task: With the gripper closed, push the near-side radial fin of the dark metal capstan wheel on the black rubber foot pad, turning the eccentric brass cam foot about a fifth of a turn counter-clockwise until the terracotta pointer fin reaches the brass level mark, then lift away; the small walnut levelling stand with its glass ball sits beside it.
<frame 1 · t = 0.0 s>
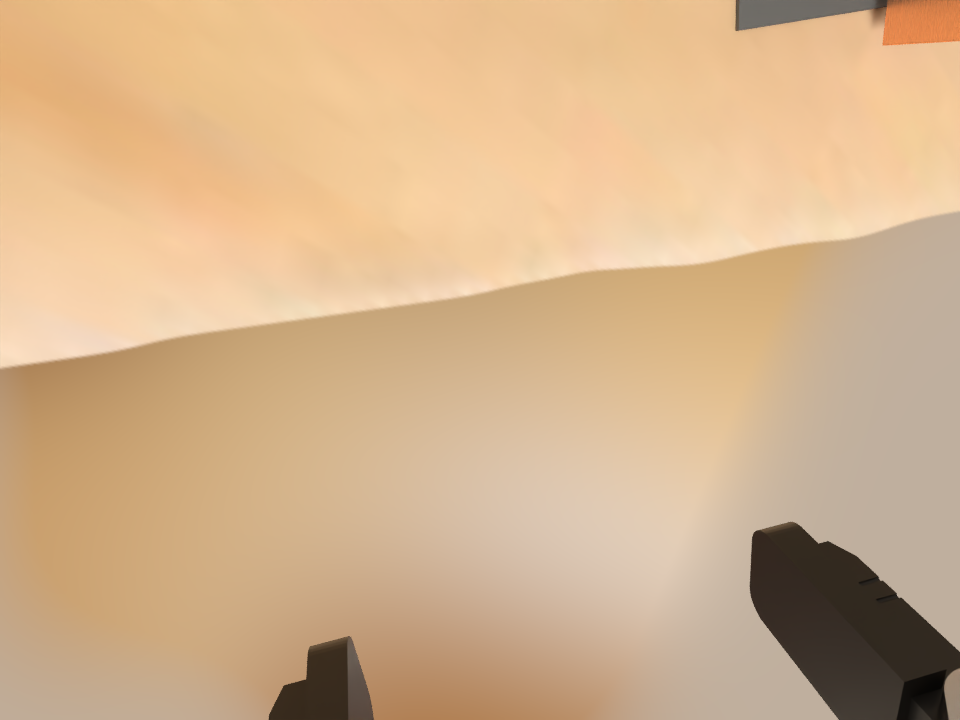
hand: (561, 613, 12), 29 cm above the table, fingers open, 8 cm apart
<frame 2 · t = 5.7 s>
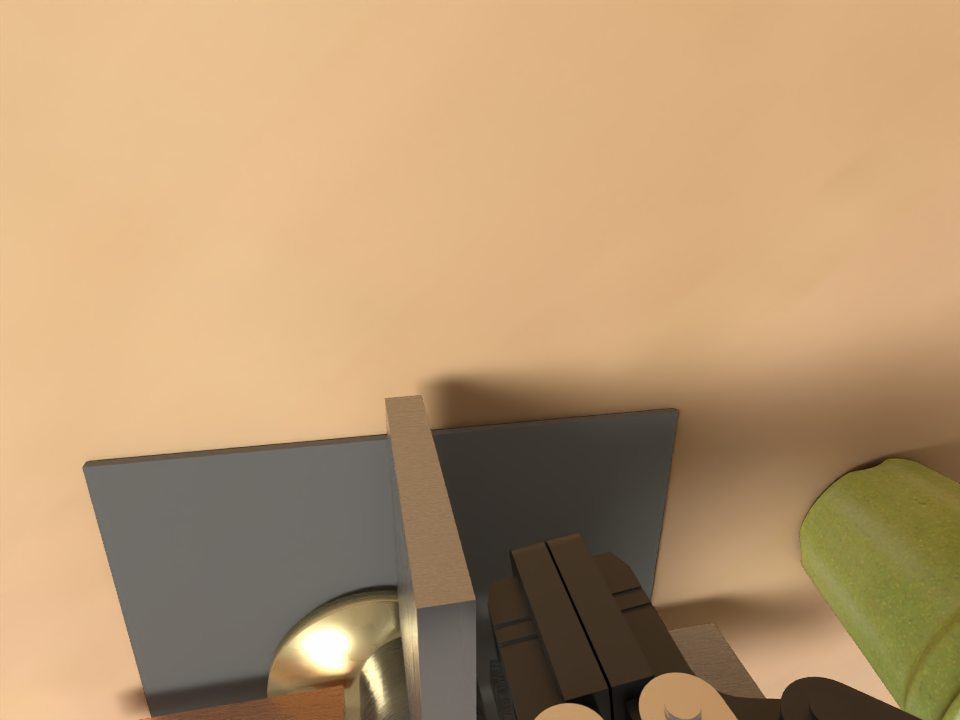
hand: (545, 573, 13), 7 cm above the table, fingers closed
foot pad: (413, 648, 23), on the table
plant pot: (859, 519, 26), on the table
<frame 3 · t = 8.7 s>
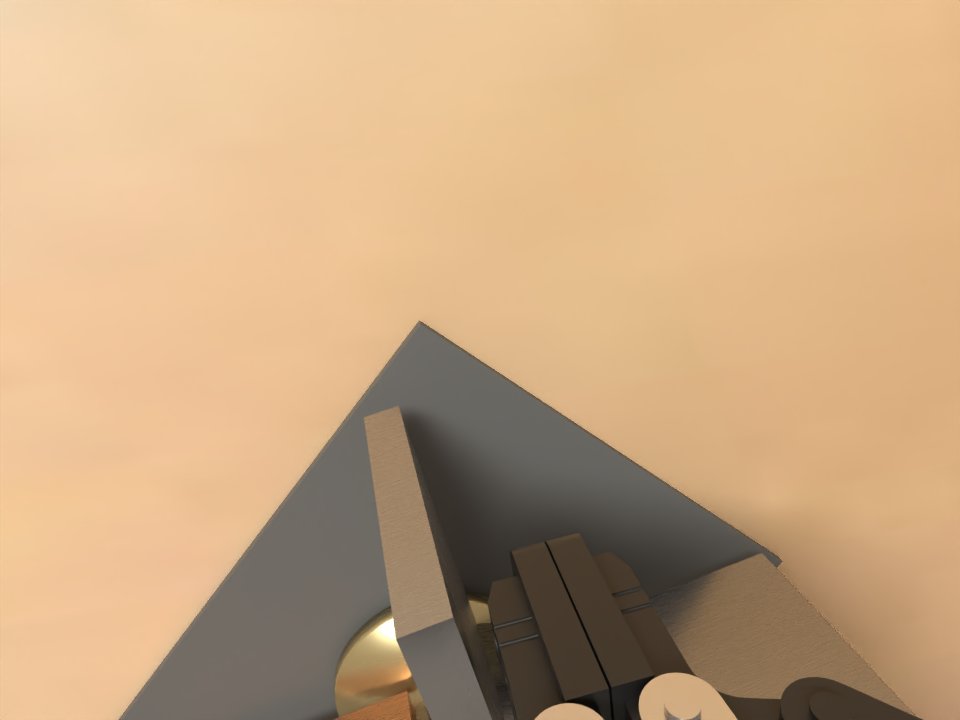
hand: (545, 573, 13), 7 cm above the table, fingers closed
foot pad: (470, 639, 24), on the table
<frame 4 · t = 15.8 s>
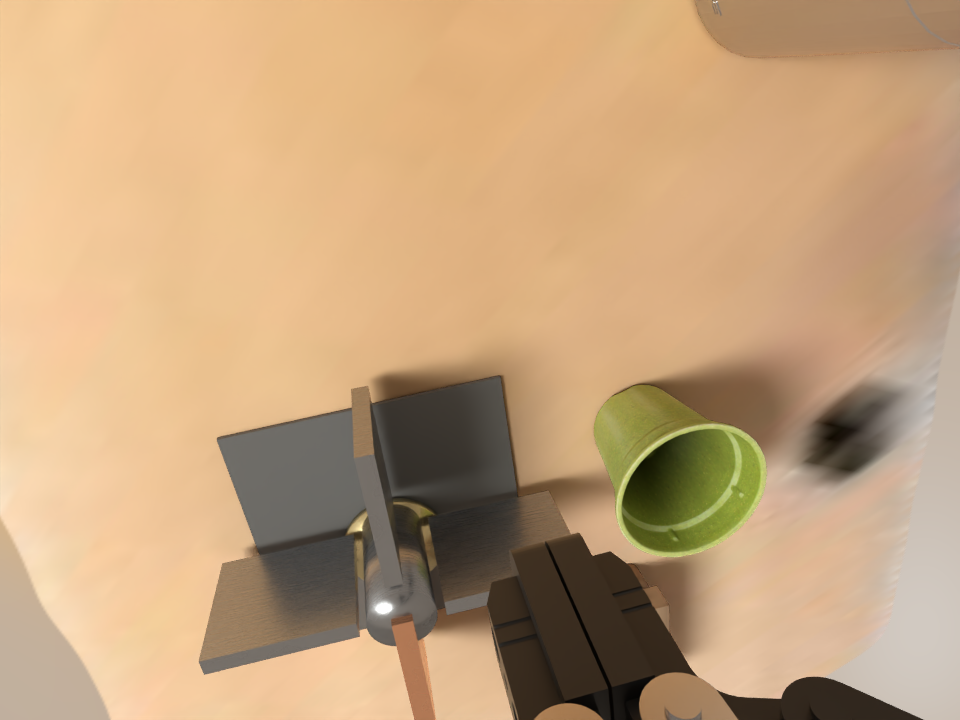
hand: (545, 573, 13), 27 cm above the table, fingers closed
level stand: (584, 625, 53), on the table
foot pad: (390, 517, 45), on the table
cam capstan: (396, 569, 40), point 5 cm above the table, hinge at 88.7°
plant pot: (632, 421, 46), on the table
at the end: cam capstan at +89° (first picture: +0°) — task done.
